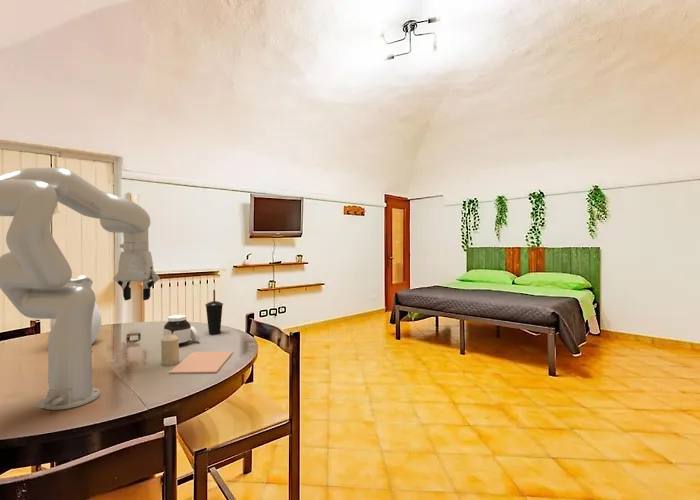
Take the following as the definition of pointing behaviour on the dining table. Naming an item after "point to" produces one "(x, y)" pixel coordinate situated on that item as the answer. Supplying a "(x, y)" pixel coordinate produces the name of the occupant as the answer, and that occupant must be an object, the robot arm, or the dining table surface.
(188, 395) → the dining table surface
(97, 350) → the dining table surface
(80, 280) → the pitcher
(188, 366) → the mat
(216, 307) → the drinking cup
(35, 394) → the dining table surface
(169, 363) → the candle
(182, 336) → the spread jar
